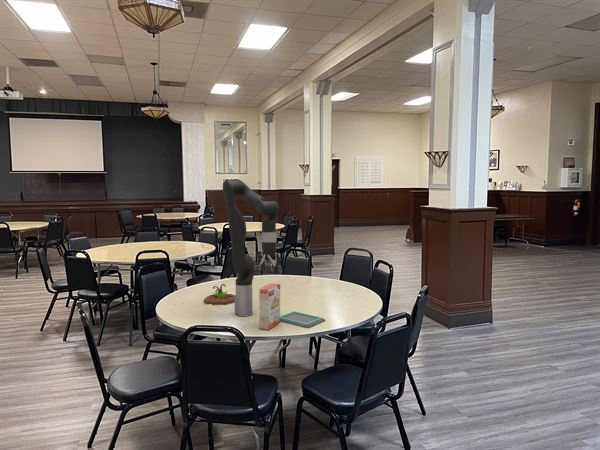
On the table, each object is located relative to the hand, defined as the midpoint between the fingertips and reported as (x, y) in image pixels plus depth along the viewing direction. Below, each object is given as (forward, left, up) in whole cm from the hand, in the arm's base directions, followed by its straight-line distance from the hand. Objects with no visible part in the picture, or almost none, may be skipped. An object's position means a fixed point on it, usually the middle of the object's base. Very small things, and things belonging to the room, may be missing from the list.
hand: (269, 272), depth 221 cm
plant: (-57, +17, -28) cm, 66 cm away
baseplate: (+7, +16, -28) cm, 33 cm away
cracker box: (0, 0, -28) cm, 28 cm away
